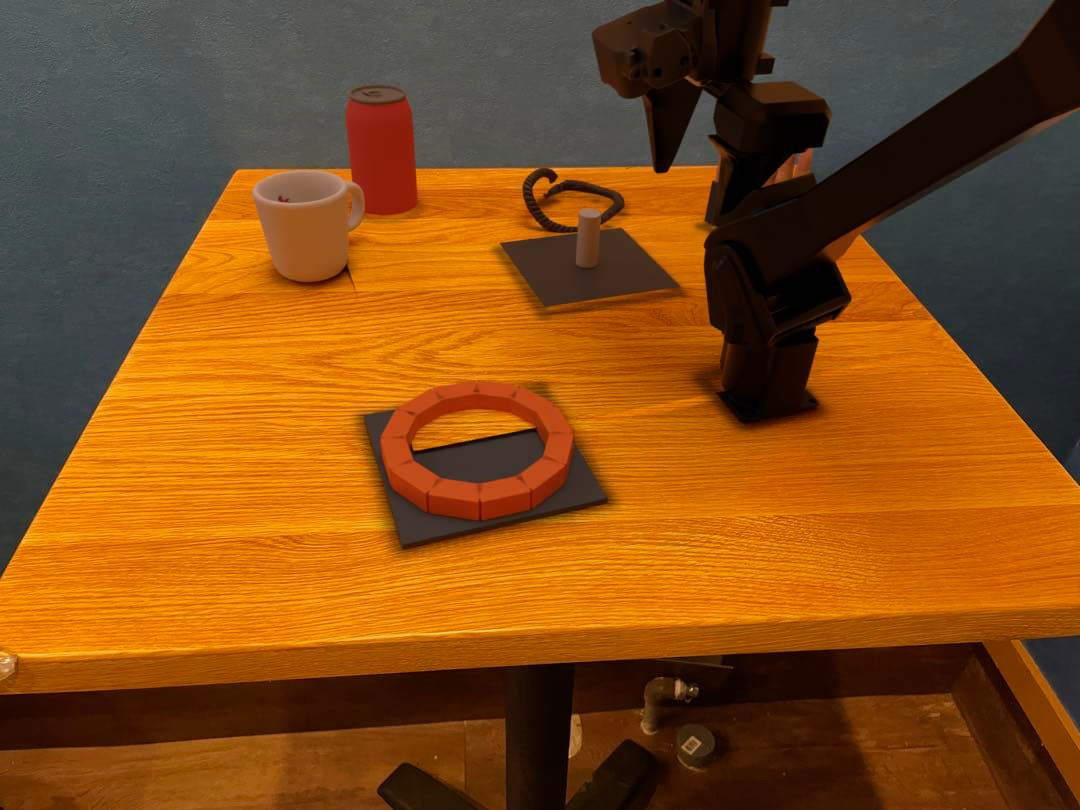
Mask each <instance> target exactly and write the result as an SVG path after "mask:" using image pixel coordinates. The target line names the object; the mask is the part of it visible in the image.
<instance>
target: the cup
mask: <svg viewBox="0 0 1080 810" xmlns="http://www.w3.org/2000/svg"><path fill="white" fill-rule="evenodd" d="M251 194H252V198H253V202H254V205H255V209H256V212H257V215H258V218H259V223H260V226H261V229H262V232H263V236H264V239H265V242H266V245H267V249H268V252H269V256H270V258H271V261H272V264H273V266H274V268H275V269H276V271H277V272H278V273H279V274H280V275H281V276H282V277H284V278H286V279H289V280H290V281H294V282H295V281H296V282H303V283H315V282H320V281H325V280H328V279H330V278H333V277H335V276H337V275H338V274H340V273H341V272H342V271H343V270H344V269H345V267H346V265H347V263H348V261H349V247H350V245H349V233H351V232H353V231H354V230H356V229H357V228H358V227H360V225H361V224H362V222H363V219H364V216H365V212H364V211H365V200H364V194H363V191H362V189H361V188H360V187H359V185H357V184H356V183H353V182H352V181H350V180H345V179H344V178H343V177H341V176H340V175H337V174H335V173H332V172H329V171H325V170H324V171H323V170H313V169H299V170H297V169H296V170H289V171H283V172H278V173H275V174H272V175H268V176H266V177H264V178H262V179H260V180H259V181H258V182H256V184H255V185H254V186H253V188H252V193H251ZM349 194H350V197H351V210H350V215H349Z"/></svg>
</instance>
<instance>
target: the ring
mask: <svg viewBox="0 0 1080 810" xmlns="http://www.w3.org/2000/svg"><path fill="white" fill-rule="evenodd" d="M395 409H396V410H395ZM395 409H394V410H395V412H394V414H393V415H392V417H391V419H390V421H389V423H388V424H387V426H386V428H385V430H384V432H383V434H382V435H381V440H380V442H381V452H382V458H383V462H384V465H385V468H386V472H387V475H388V478H389V481H390V485H391V487H393V490H395V491H396V492H397V493H399V494H400V495H402V496H403V497H405V498H406V499H408V500H409V501H411V502H412V503H414V504H415V505H416V506H418V507H419V508H421V509H422V510H424V511H425V512H428V511H429V512H430V513H431V514H437V515H443V516H450V517H456V518H463V519H469V520H476V521H479V519H480V518H481V520H482V521H484V520H488V519H493V518H497V517H501V516H506V515H510V514H515V513H519V512H524V511H528V510H530V508H532V509H533V508H535V507H536V506H537V505H538V504H540V503H541V502H542V501H543V500H545V499H546V498H547V497H549V496H550V495H551V494H552V493H554V492H555V491H556V490H557V489H559V488H560V487H561V486H562V485H564V482H566V479H567V474H568V470H569V466H570V462H571V458H572V454H573V443H575V441H574V440H575V434H574V431H573V429H572V427H571V425H570V424H569V422H568V421H567V419H566V418H565V416H564V414H563V412H562V411H561V409H560V408H559V406H558V405H556V404H555V403H554V402H552V401H550V400H549V399H546V398H545V397H542V396H541V395H539V394H537V393H536V392H533V391H531V390H529V389H527V388H525V387H524V386H522V387H521V386H520V385H516V384H510V383H509V384H508V383H500V382H495V381H494V382H493V381H486V380H479V379H478V380H477V381H476V380H469V381H462V382H457V383H451V384H445V385H440V386H433V387H432V388H429V389H427V390H426V391H424V392H422V393H420V394H418V395H417V396H415V397H413V398H411V399H409V400H408V401H406V402H405V403H403V404H402V405H400V406H398V407H397V408H395ZM397 409H398V410H397ZM472 409H484V410H492V411H497V412H503V413H505V412H506V413H511V414H513V415H515V416H516V417H518V418H520V419H522V420H524V421H525V422H527V423H529V424H531V425H533V426H534V427H533V428H534V429H535V430H537V432H538V433H539V435H540V437H541V439H542V441H543V442H544V444H545V446H546V448H545V451H544V455H543V457H542V458H541V459H540V460H538V461H537V462H535V463H534V464H533V465H531V466H530V467H529V468H527V469H526V470H525V471H523V472H522V473H521V474H519V475H518V476H515V477H510V478H505V479H500V480H496V481H491V482H486V483H481V484H476V483H470V482H463V481H456V480H450V479H443V478H440V477H438V476H437V475H435V474H434V473H432V472H431V471H429V470H428V469H426V468H424V467H423V466H421V465H420V464H418V463H417V462H415V461H414V460H413V457H412V455H411V452H410V448H411V446H412V447H413V445H412V442H413V441H414V438H415V437H416V434H417V433H418V431H419V430H420V429H422V428H423V427H425V426H427V425H428V424H430V423H432V422H433V421H434V420H436V419H438V418H440V417H441V416H443V415H445V414H451V413H455V412H461V411H467V410H472Z"/></svg>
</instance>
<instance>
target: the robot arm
mask: <svg viewBox="0 0 1080 810" xmlns="http://www.w3.org/2000/svg"><path fill="white" fill-rule="evenodd" d="M789 3H790V0H663V1H660V2H658V3H654V4H652V5H647V6H643V7H640V8H638V9H636V10H633V11H630V12H628V13H626V14H624V15H622V16H620V17H617V18H615V19H613V20H611V21H609V22H606V23H604V24H601V25H600V26H598V27H596V28H594V29H593V31H592V32H591V39H592V44H593V48H594V53H595V58H596V62H597V68H598V71H599V77H600V81H601V82H602V83H603V84H604V85H609V86H610V87H611V88H612V89H613V90H615V92H616V93H617V95H618V96H619V97H621V98H623V99H626V100H633V99H637V98H640V97H641V98H642V103H643V107H644V112H645V113H644V114H645V119H646V126H647V132H648V139H649V147H650V155H651V161H652V168H653V172H654V173H656V174H657V175H659V174H661V175H662V174H666V173H668V172H669V171H670V169H671V167H672V164H673V163H674V161H675V159H676V156H677V154H678V152H679V149H680V147H681V144H682V142H683V140H684V138H685V134H686V132H687V130H688V127H689V125H690V122H691V120H692V117H693V115H694V113H695V111H696V107H697V105H698V103H699V100H700V98H701V96H702V93H703V91H704V92H705V93H707V94H708V95H710V96H711V97H713V98H714V99H716V101H715V106H714V111H713V115H712V120H713V123H714V124H713V125H714V129H715V133H712V134H708V135H707V138H708V140H709V141H710V143H711V144H712V145H713V147H714V148H715V150H716V151H717V152H718V155H720V156H721V164H720V172H719V180H718V187H717V195H716V203H715V216H714V218H713V220H714V224H715V226H714V227H715V228H713V229H712V230H711V231H710V232H709V233H708V235H707V236H706V238H705V240H704V242H703V248H704V256H703V258H704V260H703V273H704V284H705V292H706V302H707V311H708V319H709V325H710V326H711V327H713V328H715V329H716V330H718V331H720V332H721V335H723V345H722V348H721V354H720V359H719V364H720V365H719V366H720V367H719V369H720V370H721V371H722V373H721V378H720V383H721V386H722V388H723V390H722V391H716V392H714V394H715V395H716V396H717V397H718V399H720V401H721V402H722V403H723V404H724V405H725V406H726V407H727V408H728V409H729V411H730V412H731V413H732V414H733V415H734V416H735V417H736V419H737V420H738V421H740V423H743V424H746V425H748V424H753V423H757V422H762V421H768V420H772V419H773V420H774V419H777V418H782V417H787V416H791V415H796V414H800V413H806V412H810V411H816V410H818V408H819V404H820V402H819V400H818V399H817V398H816V396H814V395H813V394H812V393H811V391H809V390H808V389H807V385H808V381H809V378H810V374H811V372H812V367H813V363H814V360H815V357H816V353H817V349H818V345H819V342H820V339H819V337H817V336H816V331H817V327H818V326H820V325H823V324H825V323H827V322H830V321H835V320H838V319H839V318H840V317H841V316H842V314H843V313H844V311H846V309H847V307H848V306H849V305H850V304H851V302H852V301H853V298H852V295H851V293H850V290H849V288H848V286H847V284H846V281H845V279H844V277H843V275H842V272H841V270H840V269H839V266H838V265H837V261H838V260H840V259H841V258H842V257H843V256H844V255H845V254H846V253H847V251H848V250H849V249H850V247H851V246H852V244H853V243H854V242H855V240H856V239H857V238H858V237H859V236H860V235H861V234H862V233H864V232H865V231H867V230H869V229H870V228H872V227H874V226H876V225H878V224H879V223H881V222H883V221H884V220H886V219H888V218H890V217H892V216H894V215H895V214H897V213H899V212H900V211H903V210H904V209H906V208H907V207H909V206H911V205H912V204H914V203H916V202H918V201H920V200H922V199H924V198H926V197H927V196H929V195H930V194H932V193H934V192H936V191H938V190H939V189H941V188H943V187H945V186H947V185H948V184H950V183H952V182H953V181H955V180H957V179H959V178H960V177H962V176H964V175H966V174H967V173H970V172H971V171H973V170H975V169H977V168H978V167H980V166H982V165H984V164H985V163H987V162H989V161H990V160H992V159H994V158H996V157H998V156H999V155H1001V154H1003V153H1005V152H1007V151H1009V150H1010V149H1012V148H1013V147H1014V148H1015V146H1017V145H1019V144H1021V143H1023V142H1024V141H1026V140H1028V139H1029V138H1031V137H1033V136H1035V135H1037V134H1038V133H1040V132H1042V131H1044V130H1046V129H1047V128H1049V127H1051V126H1053V125H1055V124H1056V123H1058V122H1060V121H1062V120H1063V119H1065V118H1067V117H1069V116H1070V115H1072V114H1074V113H1076V112H1078V111H1080V0H1052V1H1051V3H1050V4H1049V5H1048V6H1047V7H1046V9H1045V10H1044V11H1043V13H1041V15H1040V16H1039V18H1038V19H1037V20H1036V22H1035V23H1034V24H1033V26H1032V27H1031V28H1030V30H1028V32H1027V33H1026V34H1025V36H1024V37H1023V39H1022V40H1021V41H1020V42H1019V44H1018V45H1017V46H1016V47H1015V48H1014V49H1013V50H1012V51H1011V52H1010V53H1009V54H1008V55H1006V56H1005V57H1004V58H1002V59H1000V60H999V61H997V62H996V63H994V64H993V65H992V66H990V67H989V68H987V69H986V70H984V71H983V72H981V73H980V74H978V75H977V76H976V77H974V78H972V79H970V81H968V82H966V83H965V84H964V85H961V86H960V87H959V88H958V89H956V90H954V91H953V92H952V93H950V94H949V95H947V96H946V97H944V98H943V99H941V100H940V101H938V102H937V103H935V104H934V105H932V106H931V107H929V108H928V109H927V110H925V111H923V112H922V113H920V114H919V115H918V116H916V117H914V118H913V119H911V120H910V121H908V122H907V123H906V124H904V125H903V126H901V127H900V128H898V129H896V130H894V132H892V133H891V134H889V135H888V136H886V137H885V138H883V139H882V140H880V141H879V142H877V143H876V144H875V145H873V146H871V147H870V148H869V149H867V150H865V151H864V152H863V153H861V154H860V155H857V157H855V158H854V159H852V160H850V161H849V162H848V163H846V164H845V165H843V166H842V167H841V168H839V169H837V170H836V171H834V172H832V174H830V175H829V176H827V177H826V178H824V179H823V180H821V181H820V182H817V179H816V175H815V172H813V171H810V173H808V174H805V175H801V176H798V177H795V178H791V179H788V180H785V181H782V182H778V183H775V184H772V185H768V186H765V187H762V186H763V185H764V184H765V183H766V182H767V180H768V179H769V178H770V177H771V176H772V175H773V174H774V173H775V172H776V171H777V170H778V171H779V168H780V167H781V166H782V165H783V164H784V163H785V162H786V161H787V160H788V159H789V158H790V157H791V156H792V155H793V154H796V155H797V154H800V153H805V152H806V151H807V149H808V148H813V149H817V148H823V146H824V144H825V141H826V138H827V134H828V131H829V127H830V123H831V120H832V117H833V114H834V113H833V111H832V110H831V108H830V106H829V104H828V103H827V101H826V99H825V98H823V97H822V96H820V95H818V94H816V93H814V92H812V91H811V90H809V89H808V88H806V87H804V86H803V85H801V84H798V83H797V82H795V81H793V80H784V81H767V82H752V81H754V79H755V76H763V75H772V74H773V71H774V66H775V63H776V62H775V61H776V57H774V56H773V55H770V54H769V53H767V52H765V50H764V49H765V45H766V40H767V36H768V31H769V27H770V24H771V18H772V14H773V10H774V8H782V7H789ZM761 187H762V188H761Z"/></svg>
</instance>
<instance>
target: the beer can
mask: <svg viewBox="0 0 1080 810" xmlns="http://www.w3.org/2000/svg"><path fill="white" fill-rule="evenodd" d="M347 94H348V95H347V96H348V99H347V100H348V101H347V103H346V108H345V118H344V119H345V126H346V127H345V128H346V137H347V146H348V155H349V164H350V165H349V166H350V174H351V182H353V183H356V184H357V185H359V187H360V188H361V189H362V191H363V194H364V200H365V211H364V214H369V215H376V216H394V215H399V214H404V213H407V212H410V211H411V210H413V209H415V208H416V207H417V206H418V204H419V200H418V199H419V198H418V183H417V165H416V149H415V133H414V117H413V111H412V108H411V105H410V103H409V101H408V99H407V92H406V91H405V90H404V88H402V87H400V86H396V85H392V84H366V85H359V86H356V87H354V88H352V89H350V90H349V91H348V93H347Z"/></svg>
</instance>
